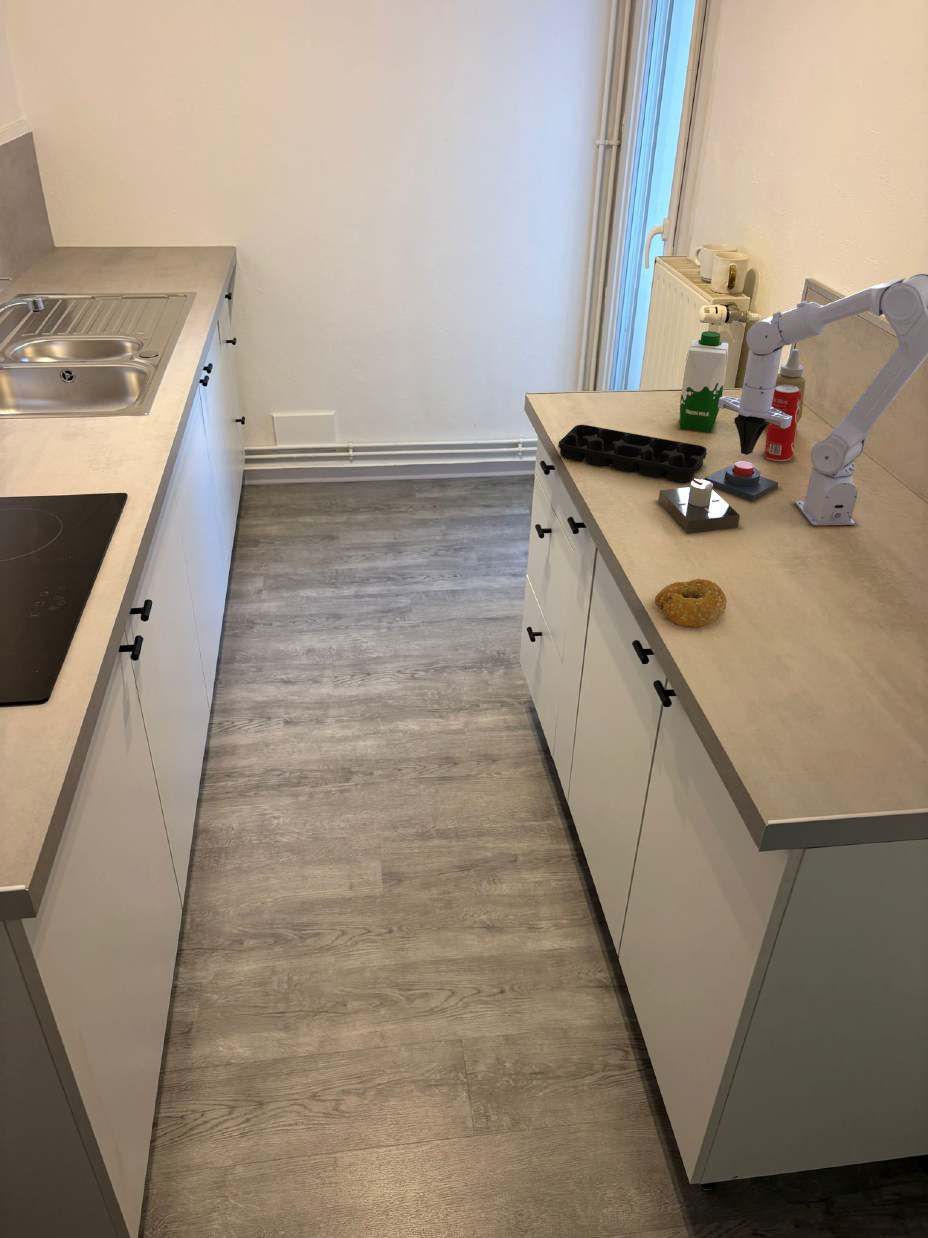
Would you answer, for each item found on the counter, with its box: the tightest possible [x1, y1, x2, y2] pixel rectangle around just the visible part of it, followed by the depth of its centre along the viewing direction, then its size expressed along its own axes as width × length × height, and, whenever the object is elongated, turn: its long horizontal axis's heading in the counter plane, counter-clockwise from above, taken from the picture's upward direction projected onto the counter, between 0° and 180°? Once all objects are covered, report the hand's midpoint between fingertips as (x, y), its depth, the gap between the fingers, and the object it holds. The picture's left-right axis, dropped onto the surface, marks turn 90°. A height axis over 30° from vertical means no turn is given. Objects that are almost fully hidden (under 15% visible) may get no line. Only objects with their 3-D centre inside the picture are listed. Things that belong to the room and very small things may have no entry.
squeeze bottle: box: [765, 348, 806, 429], centre depth 210 cm, size 8×8×18 cm
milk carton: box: [679, 330, 729, 434], centre depth 211 cm, size 9×9×20 cm
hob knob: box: [688, 478, 714, 507], centre depth 176 cm, size 4×4×4 cm
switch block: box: [704, 464, 779, 503], centre depth 189 cm, size 11×9×3 cm
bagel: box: [654, 578, 727, 628], centre depth 149 cm, size 10×11×5 cm
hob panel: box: [657, 486, 741, 534], centre depth 178 cm, size 13×10×3 cm
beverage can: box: [764, 384, 801, 462], centre depth 198 cm, size 6×6×15 cm
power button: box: [734, 460, 755, 476], centre depth 188 cm, size 4×4×2 cm
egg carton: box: [557, 424, 708, 484], centre depth 198 cm, size 18×30×4 cm, turn 76°
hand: (746, 452), depth 186 cm, fingers closed
